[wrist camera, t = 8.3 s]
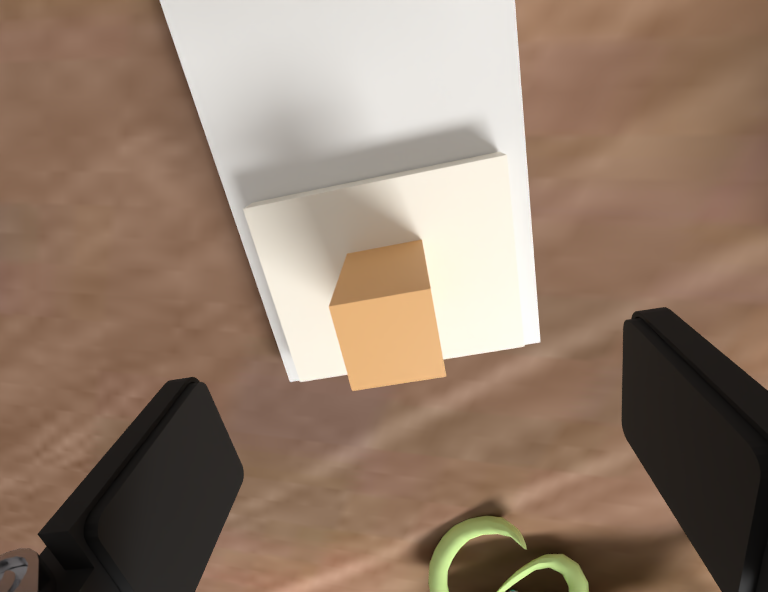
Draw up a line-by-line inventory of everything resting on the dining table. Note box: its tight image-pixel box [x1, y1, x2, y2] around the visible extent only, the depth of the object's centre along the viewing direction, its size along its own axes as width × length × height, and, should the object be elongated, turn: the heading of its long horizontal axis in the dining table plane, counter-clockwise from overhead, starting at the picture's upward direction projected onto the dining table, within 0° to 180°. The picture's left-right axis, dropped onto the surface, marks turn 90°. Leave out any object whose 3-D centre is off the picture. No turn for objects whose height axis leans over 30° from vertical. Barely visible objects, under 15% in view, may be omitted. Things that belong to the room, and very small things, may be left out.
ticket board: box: [160, 0, 540, 382], centre depth 15 cm, size 12×29×2 cm, turn 12°
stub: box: [243, 152, 524, 391], centre depth 16 cm, size 10×8×6 cm
